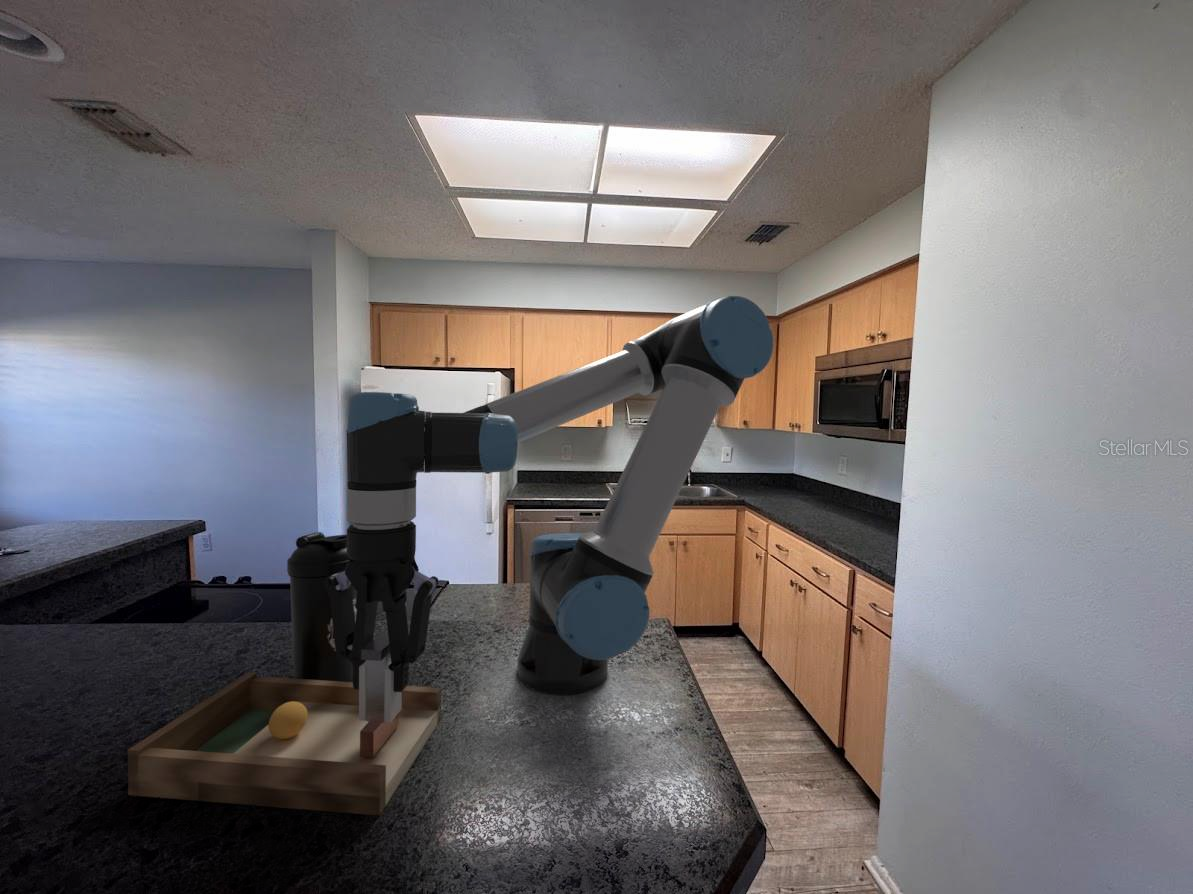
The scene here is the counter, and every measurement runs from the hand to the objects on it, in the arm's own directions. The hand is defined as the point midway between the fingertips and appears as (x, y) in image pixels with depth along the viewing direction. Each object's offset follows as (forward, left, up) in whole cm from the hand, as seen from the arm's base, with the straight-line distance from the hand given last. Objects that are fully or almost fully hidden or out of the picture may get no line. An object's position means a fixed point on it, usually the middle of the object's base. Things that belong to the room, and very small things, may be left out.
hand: (380, 714), depth 56 cm
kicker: (0, 0, -3) cm, 3 cm away
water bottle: (+18, -16, -6) cm, 25 cm away
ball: (+12, 0, -2) cm, 12 cm away
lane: (+10, 0, -6) cm, 11 cm away
